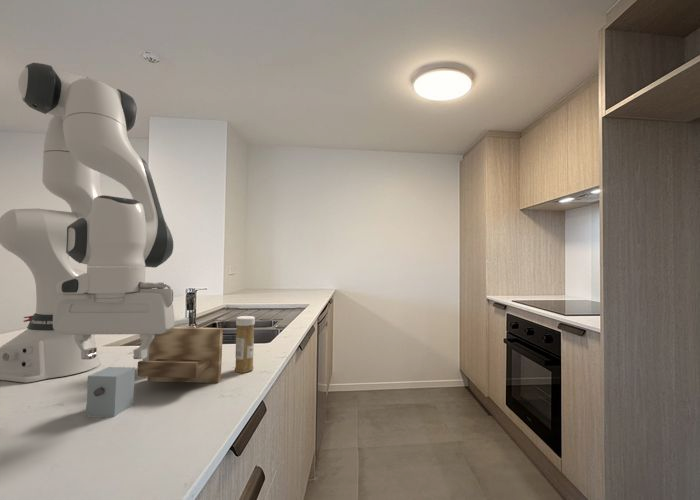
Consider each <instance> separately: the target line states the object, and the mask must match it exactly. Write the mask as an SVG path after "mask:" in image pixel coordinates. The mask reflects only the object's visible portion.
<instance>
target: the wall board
mask: <svg viewBox="0 0 700 500" xmlns="http://www.w3.org/2000/svg"><path fill="white" fill-rule="evenodd" d="M223 329H224V328H223V327H196V326H195V327H192V326H191V327H190V326H189V327H173V328H172V329H171V330H170V331H169V332H166V333H163V334H154V339H153V340H152V342H151V344H150V345H149V361H143V360H139V361H137V377H141V378H143V377H144V378H147V382H163V383H164V382H167V383H168V382H169V383H170V382H171V383H214V384H215V383H220V382H221V381H222V360H223V359H222V358H223V357H222V356H223V336H224V335H223V331H224V330H223ZM137 377H136V378H137Z"/></svg>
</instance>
